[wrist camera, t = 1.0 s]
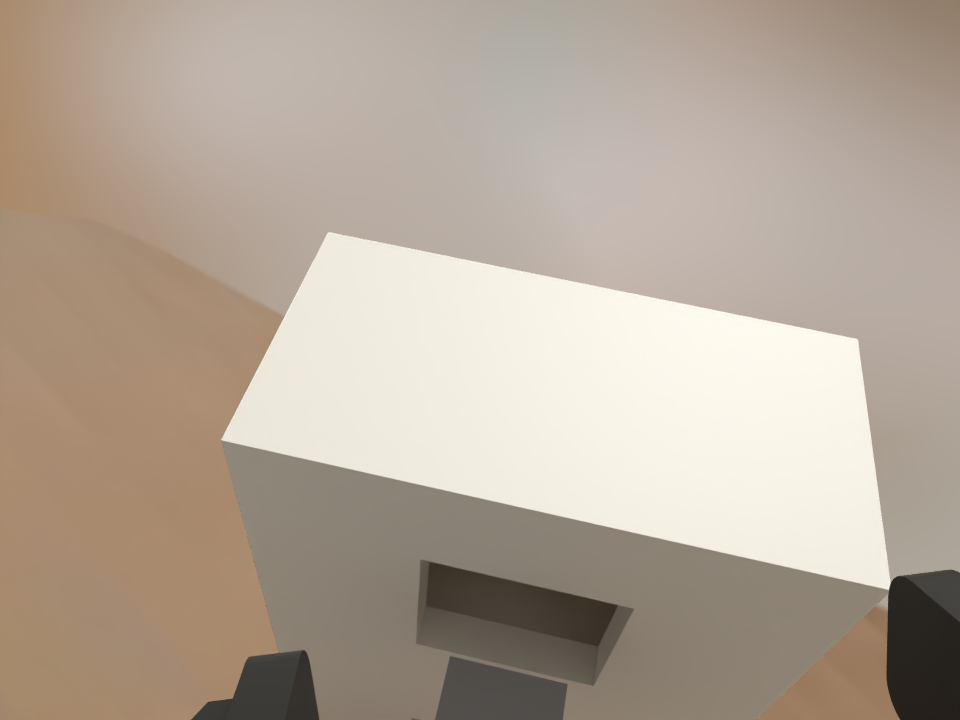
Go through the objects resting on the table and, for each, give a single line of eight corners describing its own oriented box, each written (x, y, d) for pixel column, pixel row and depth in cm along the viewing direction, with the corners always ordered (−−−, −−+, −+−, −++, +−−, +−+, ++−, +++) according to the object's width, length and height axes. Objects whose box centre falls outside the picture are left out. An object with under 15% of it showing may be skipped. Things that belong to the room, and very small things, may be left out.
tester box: (620, 849, 31) (891, 590, 14) (311, 771, 31) (221, 439, 15) (634, 690, 35) (857, 339, 18) (358, 624, 35) (328, 231, 19)
